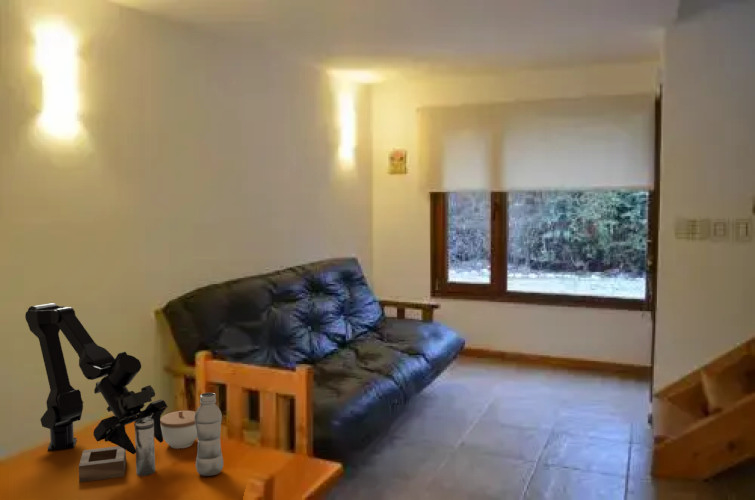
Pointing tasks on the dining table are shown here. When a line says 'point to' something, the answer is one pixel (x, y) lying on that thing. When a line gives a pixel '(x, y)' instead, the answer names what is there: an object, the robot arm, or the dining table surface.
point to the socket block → (102, 463)
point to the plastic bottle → (208, 436)
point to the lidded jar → (179, 428)
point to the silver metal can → (144, 446)
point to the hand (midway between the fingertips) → (148, 447)
